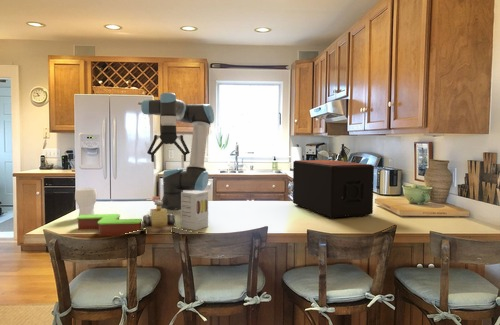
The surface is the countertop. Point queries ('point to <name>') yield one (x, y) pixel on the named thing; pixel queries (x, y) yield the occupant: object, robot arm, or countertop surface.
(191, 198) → the supplement box
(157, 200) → the lever
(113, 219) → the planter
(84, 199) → the cup
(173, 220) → the valve
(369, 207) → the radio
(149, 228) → the board
